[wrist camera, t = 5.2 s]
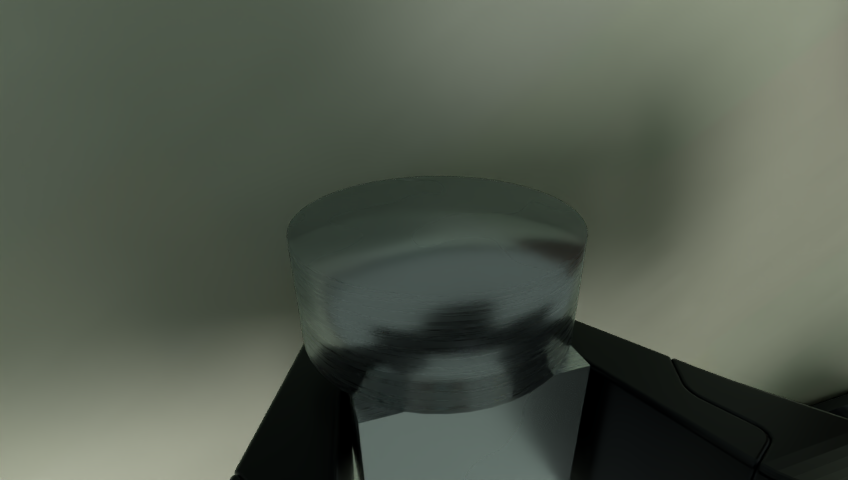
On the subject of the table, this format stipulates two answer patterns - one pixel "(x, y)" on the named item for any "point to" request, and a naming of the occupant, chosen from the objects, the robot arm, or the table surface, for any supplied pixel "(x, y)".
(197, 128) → the table surface
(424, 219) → the shaft
